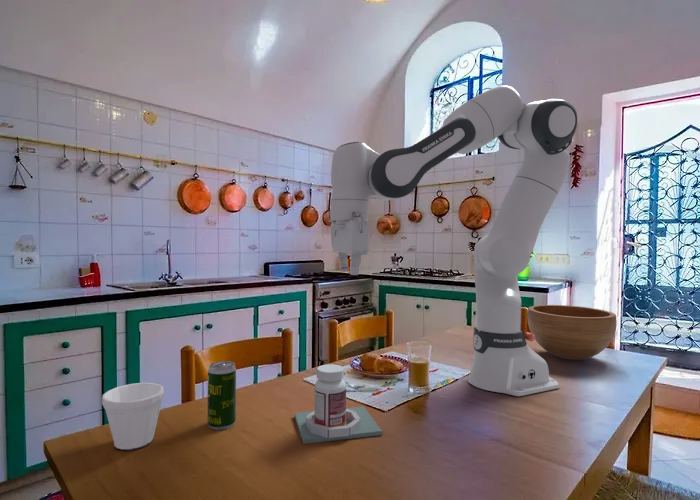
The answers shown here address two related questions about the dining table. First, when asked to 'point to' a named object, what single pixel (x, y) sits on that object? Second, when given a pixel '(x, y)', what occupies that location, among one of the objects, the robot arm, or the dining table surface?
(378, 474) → the dining table surface
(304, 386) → the dining table surface
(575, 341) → the bowl
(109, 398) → the cup
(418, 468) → the dining table surface
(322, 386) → the pill bottle
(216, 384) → the green soda can
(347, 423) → the collar board
